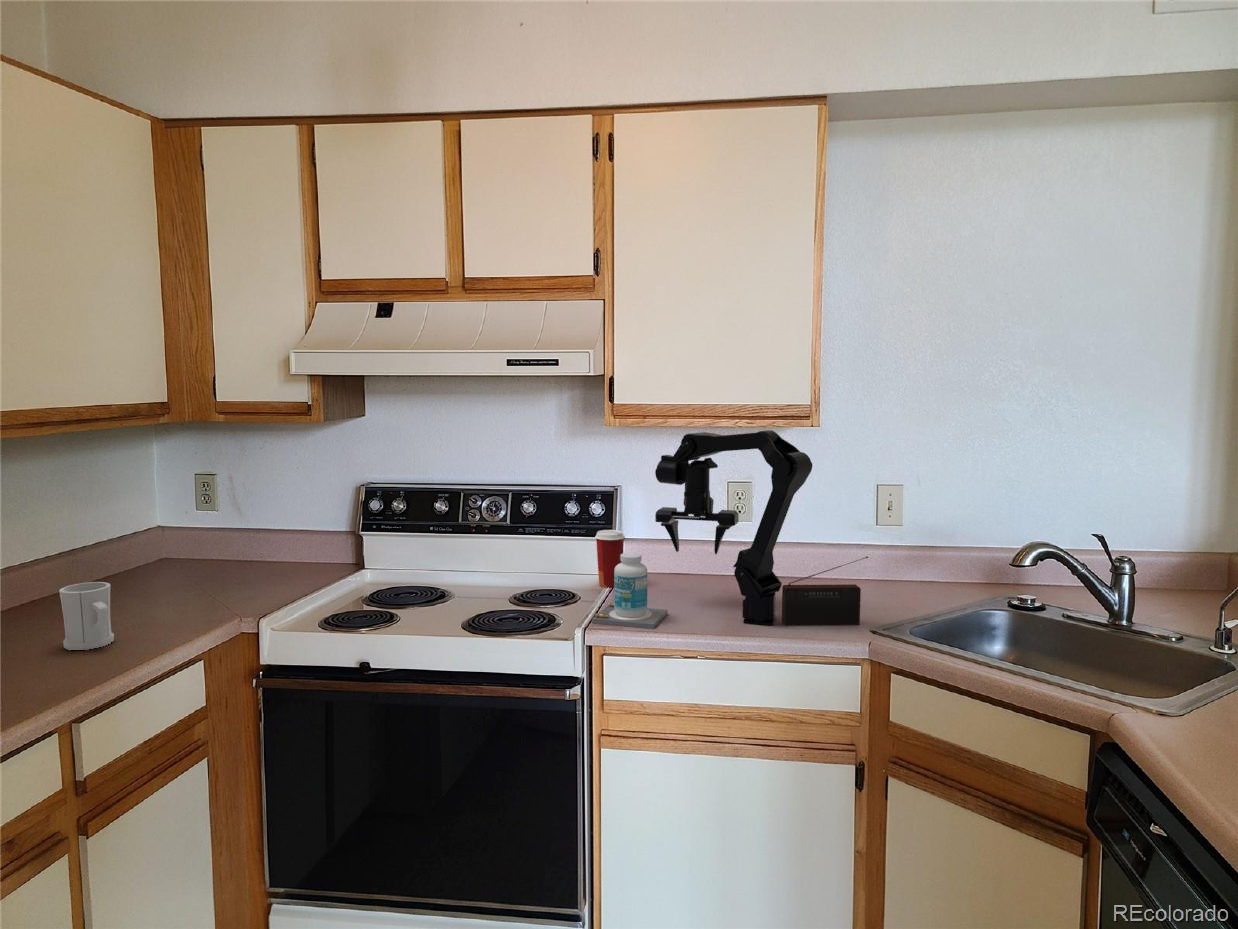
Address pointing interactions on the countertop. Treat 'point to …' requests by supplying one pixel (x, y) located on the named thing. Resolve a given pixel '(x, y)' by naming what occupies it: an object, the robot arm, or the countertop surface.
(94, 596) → the cup
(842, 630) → the countertop surface
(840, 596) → the radio
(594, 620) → the plate
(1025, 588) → the countertop surface
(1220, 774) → the countertop surface
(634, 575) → the pill bottle
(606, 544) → the paper cup
